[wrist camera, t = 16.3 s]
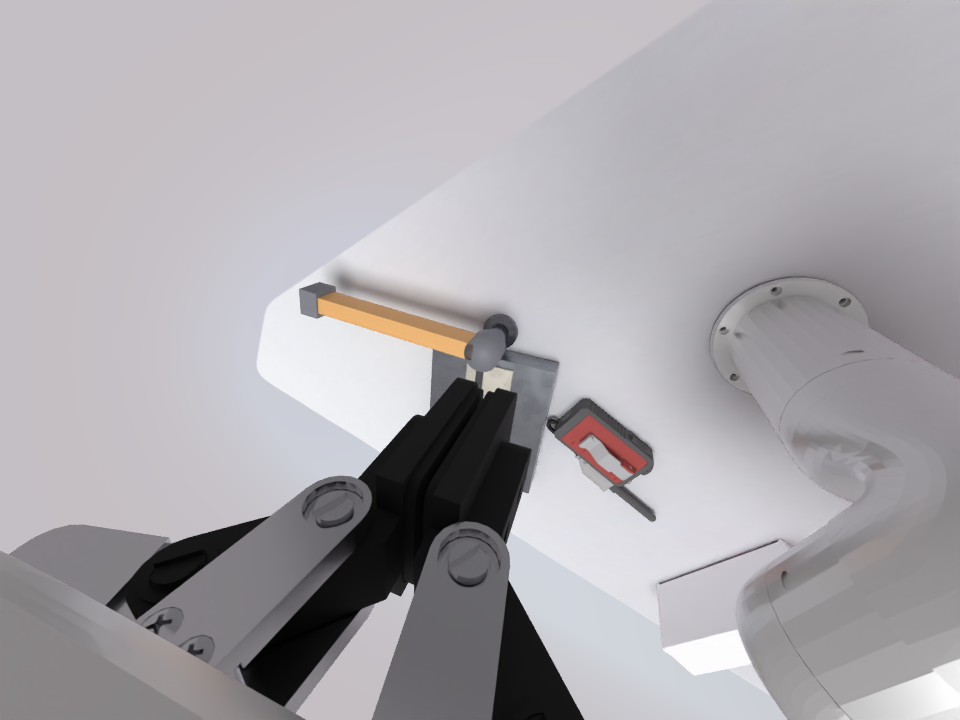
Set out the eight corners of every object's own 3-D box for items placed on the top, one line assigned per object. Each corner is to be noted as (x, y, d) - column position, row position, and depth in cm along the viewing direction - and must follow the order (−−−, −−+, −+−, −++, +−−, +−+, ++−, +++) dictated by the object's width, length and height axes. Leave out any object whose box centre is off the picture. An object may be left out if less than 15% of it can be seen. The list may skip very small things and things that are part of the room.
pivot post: (520, 318, 46) (511, 330, 42) (515, 350, 48) (505, 364, 44) (486, 311, 47) (474, 322, 43) (483, 342, 49) (471, 356, 45)
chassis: (559, 362, 47) (554, 375, 44) (532, 479, 56) (527, 495, 53) (442, 334, 51) (431, 344, 48) (435, 448, 60) (426, 462, 57)
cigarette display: (682, 606, 57) (692, 676, 49) (656, 582, 57) (662, 648, 49) (822, 562, 47) (863, 641, 39) (790, 533, 46) (826, 607, 38)
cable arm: (509, 333, 42) (500, 345, 39) (502, 364, 44) (494, 377, 41) (319, 279, 48) (298, 285, 45) (320, 308, 50) (301, 316, 47)
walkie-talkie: (537, 426, 52) (647, 515, 53) (531, 445, 49) (649, 541, 49) (580, 387, 48) (700, 485, 48) (576, 405, 44) (707, 511, 44)
